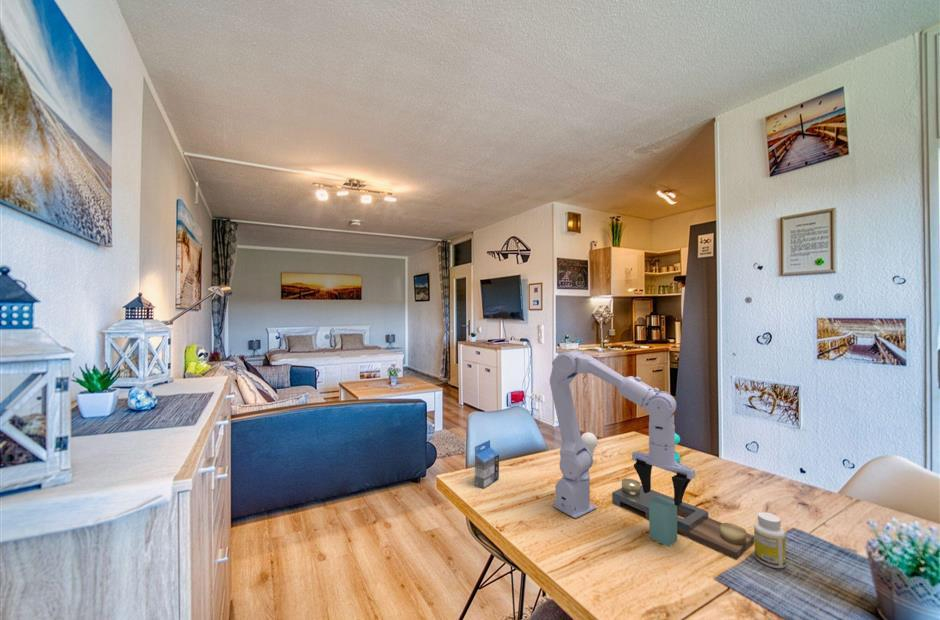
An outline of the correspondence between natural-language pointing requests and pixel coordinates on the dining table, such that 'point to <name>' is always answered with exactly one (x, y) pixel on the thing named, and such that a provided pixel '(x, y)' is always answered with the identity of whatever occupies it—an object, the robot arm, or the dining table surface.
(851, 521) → the dining table surface
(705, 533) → the walnut link
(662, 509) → the block
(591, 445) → the lightbulb
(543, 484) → the dining table surface
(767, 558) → the supplement bottle
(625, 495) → the metal link
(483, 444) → the label tape cartridge
